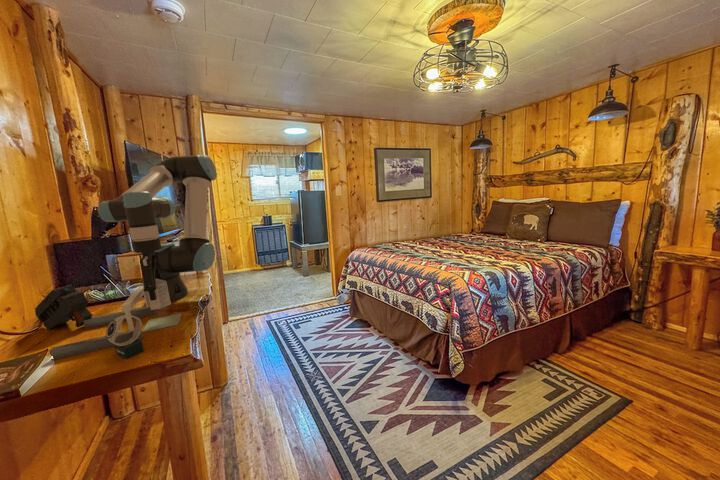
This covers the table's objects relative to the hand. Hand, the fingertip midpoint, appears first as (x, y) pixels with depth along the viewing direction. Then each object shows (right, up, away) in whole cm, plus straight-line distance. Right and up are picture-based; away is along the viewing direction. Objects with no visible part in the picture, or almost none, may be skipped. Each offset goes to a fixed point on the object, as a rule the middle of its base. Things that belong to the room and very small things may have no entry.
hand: (159, 303), depth 102 cm
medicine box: (0, -1, 0) cm, 1 cm away
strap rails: (-13, -9, -3) cm, 16 cm away
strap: (-6, -4, 0) cm, 7 cm away
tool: (-36, -9, +4) cm, 37 cm away
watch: (+4, -10, -18) cm, 21 cm away
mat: (0, -7, +1) cm, 7 cm away
